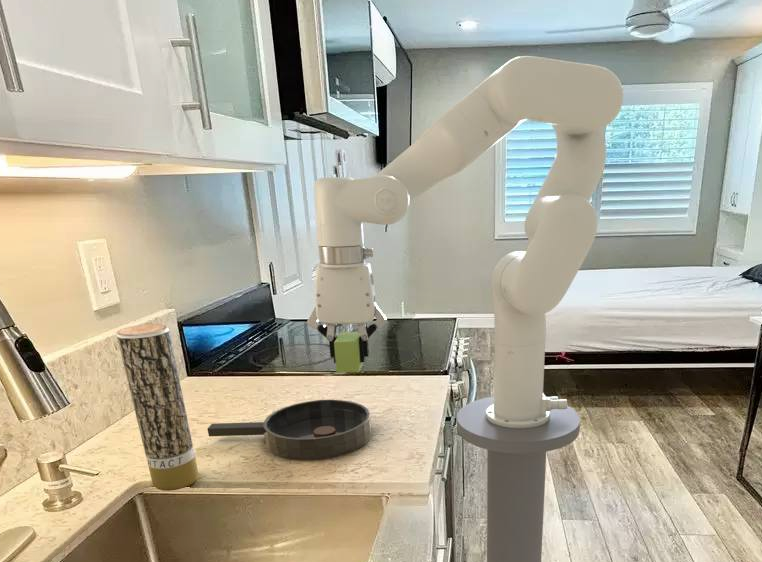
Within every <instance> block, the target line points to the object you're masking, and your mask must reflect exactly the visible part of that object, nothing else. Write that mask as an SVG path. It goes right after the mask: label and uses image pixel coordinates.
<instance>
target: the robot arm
mask: <svg viewBox="0 0 762 562" xmlns="http://www.w3.org/2000/svg"><path fill="white" fill-rule="evenodd" d="M623 103H624V90H623V85H622V82H621V81H620V79H619V77H618V76H617V75H616V73H614V72H613V71H612V70H611V69H608V68H606V67H603V66H600V65H596V64H589V63H581V62H574V61H568V60H561V59H555V58H554V59H553V58H549V57H548V58H547V57H541V56H533V55H532V56H531V55H522V56H516V57H514V58H512V59H510V60H508V61H507V62H506V63H504V64H503V65H502V66H501V67H499V68H498V69H497V70H495V71H494V72H492V74H490V75H489V76H488V77H487V78H486V79H484V80H483V81H482V82H481V83H480V84H479V85H477V86H476V87H475V88H474V89H473V90H471V91H470V92H469V93H468V94H466V95H465V96H464V97H463V98H462V99H461V100H459V101H458V102H457V103H456V104H454V105H453V106H452V107H451V108H450V109H448V110H447V111H446V112H445V113H444V114H442V116H440V117H438V118H437V119H436V120H435V121H434V122H433V123H432V124H431V125H430V126H429V127H427V128H426V130H425V131H424V132H422V134H421V135H420V136H419V137H418V138H417V139H416V140H415V141H414V142H413V143H412V144H411V145H409V147H408V148H406V149H405V150H404V151H403V152H402V153H400V154H399V155H398V156H397V157H396V158H394V159H393V160H392V161H391V162H390V163H388V164H387V165H386V166H385V167H384V168H383V169H381V170H380V171H379V172H377V174H375V175H374V176H370V177H365V178H364V177H363V178H353V177H347V176H346V177H344V176H341V177H340V176H339V177H337V176H335V177H334V176H333V177H332V176H331V177H320V178H318V179H316V180H315V181H314V183H313V187H312V188H313V200H314V201H313V203H314V210H315V211H314V212H315V223H316V233H317V245H318V256H319V263H318V264H316V268H315V278H314V279H315V280H314V281H315V282H314V298H315V299H314V301H315V302H314V303H315V307H314V308H313V310H312V312H311V314H310V315H309V317H308V319H307V321H306V323H307V325H308V326H310V327H311V328H313V329H315V330H317V331H318V332H319V333H320V334H321V335H322V336H323V337H325V338H326V341H328V344H329V357H330V358H333V363H334V364H336V359H335V348H334V342H335V340H336V338H337V337H338V334H337V328H338V327H337V326H338V325H355V324H356V325H357V328H358V330H359V331H358V332H360V335H361V336H360V341H359V350H360V362H361V363H363V364H364V363H365V362H366V359H367V357H369V356H370V348H369V338H370V337H371V336H372V335H373V334H374V333H375V332H376V331H377V330H379V329H380V328H381V327H384V325H385V324H387V322H388V319H387V317H386V315H385V314H384V313H383V312H382V310H381V309H380V308H379V306H378V305H377V299H376V289H375V282H374V276H373V271H372V267H371V263H369V262H366V260H367V259H369V258H374V251H373V250H374V249H373V248H369V247H367V246H366V245H365V244H364V243H365V240H364V226H363V225H364V224H365V223H366V224H373V225H374V224H375V225H382V226H388V225H389V226H390V225H393V224H396V223H399V222H400V221H401V220H403V218H404V217H405V216H406V215H407V213H408V211H409V207H410V206H411V205H412V204H413V203H414V202H415V201H416V200H417V199H419V198H420V197H421V196H423V194H425V193H426V192H428V191H430V189H432V188H434V186H436V185H437V184H439V183H441V182H442V181H445V180H446V179H448V178H451V177H453V176H454V175H457V174H459V173H460V172H461V171H463V170H465V169H466V168H468V167H470V166H471V165H472V164H473V163H474V162H475V161H476V160H478V159H479V158H480V157H481V156H482V155H484V154H485V153H486V152H487V151H488V150H489V149H491V148H492V147H493V146H494V145H496V144H497V143H498V142H499V141H501V140H502V139H503V138H504V137H506V136H507V135H508V134H509V133H511V132H512V131H514V130H515V128H517V127H518V126H519V125H521V124H522V123H523V122H525V121H531V122H537V123H543V124H548V125H551V126H552V129H553V131H554V134H555V138H556V153H555V156H554V160H553V162H552V164H551V167H550V169H549V170H548V173H547V175H546V177H545V178H544V180H543V183H542V184H541V187H540V189H539V190H538V193H537V194H536V197H535V199H534V200H533V202H532V204H531V206H530V208H529V210H528V212H527V213H526V216H525V220H524V233H525V235H526V238H527V240H528V241H529V244H528V247H527V248H526V250H525V251H523V250H518V251H517V250H516V251H512V252H510V253H507V254H506V255H504V256H503V257H502V258H501V259H500V260H499V261H498V262H497V264H496V266H494V267H495V268H494V270H493V273H492V278H491V291H492V292H491V293H492V302H493V316H494V338H493V339H494V341H493V343H494V346H493V348H494V349H493V362H494V363H493V397H494V404H493V405H491V406H489V407H488V408H487V410H486V418H487V419H488V420H489V421H490V422H491V423H493V424H495V425H498V426H502V427H507V428H516V429H524V428H533V427H537V426H540V425H543V424H545V423H546V422H548V421H549V419H550V411H551V409H567V406H568V400H567V399H566V398H565V399H559V396H546V394H545V393H544V381H545V380H544V379H545V378H544V377H545V356H546V338H547V337H546V336H547V318H546V317H547V316H546V314H547V313H549V312H551V311H553V310H554V309H555V308H556V307H557V306H558V305H559V304H560V303H561V301H562V300H563V298H564V297H565V295H566V293H567V292H568V290H569V289H570V287H571V285H572V283H573V281H574V279H575V278H576V276H577V274H578V272H579V270H580V269H581V267H582V265H583V263H584V261H585V259H586V257H587V255H588V254H589V252H590V250H591V248H592V247H593V244H594V241H595V239H596V235H597V230H598V216H597V213H596V210H595V208H594V206H593V204H592V203H591V202H590V201H591V199H592V197H593V196H594V195H593V194H594V192H595V191H596V189H597V186H598V184H599V182H600V180H601V177H602V175H603V172H604V169H605V166H606V161H607V160H606V158H607V145H606V137H605V131H604V128H606V127H607V126H608V125H611V124H612V122H613V121H614V120H615V119H616V118H617V116H618V115H619V113H620V111H621V109H622V106H623ZM375 318H376V320H375ZM374 320H375V321H374ZM373 321H374V322H373ZM371 322H372V323H371ZM370 323H371V324H370ZM368 324H369V325H368Z"/></svg>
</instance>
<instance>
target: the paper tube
mask: <svg viewBox="0 0 762 562" xmlns="http://www.w3.org/2000/svg"><path fill="white" fill-rule="evenodd" d="M116 338H117V344H118V347H119V352H120V355H121V360H122V363H123V367H124V368H123V369H124V372H125V375H126V376H125V377H126V380H127V385H128V388H129V393H130V396H131V400H132V401H131V402H132V404H133V405H132V406H133V409H134V413H135V417H136V421H137V425H138V430H139V434H140V437H141V442H142V446H143V450H144V453H145V454H144V455H145V458H146V462H147V466H148V470H149V474H150V479H151V482H152V486H153V487H154V488H155V489H157V490H160V491H165V492H170V491H172V492H173V491H178V490H181V489H184V488H187V487H189V486H191V485H192V484H194V483H195V482H196V481H197V480H198V478H199V469H198V465H197V460H196V455H195V449H194V445H193V438H192V435H191V430H190V424H189V419H188V415H187V409H186V406H185V400H184V395H183V390H182V386H181V381H180V376H179V372H178V367H177V362H176V361H177V360H176V357H175V352H174V347H173V342H172V338H171V333H170V329H169V326H168V325H167V324H162V323H148V324H138V325H131V326H128V327H123V328H119V329H118V330H117V331H116Z"/></svg>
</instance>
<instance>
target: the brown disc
mask: <svg viewBox="0 0 762 562" xmlns="http://www.w3.org/2000/svg"><path fill="white" fill-rule="evenodd" d="M313 432H314V437H315V438H317V437H325V436H331V435H335V434H336V431H335V428H334V427H332V426H322V427H318V428H316V429H314V431H313Z"/></svg>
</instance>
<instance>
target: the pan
mask: <svg viewBox="0 0 762 562" xmlns="http://www.w3.org/2000/svg"><path fill="white" fill-rule="evenodd" d="M371 417H372V416H371V412H370V410H369V408H368V407H366V406H365V405H363V404H361V403H358V402H356V401H351V400H350V401H349V400H344V399H317V400H307V401H303V402H298V403H294V404H291V405H288V406H285V407H284V406H283V407H282V408H280V409H277V410H275V411H274V412H272V413H271V414H269V415H268V416H267V417H266V418H265V419H264V421H263V422H264V426H263V428H264V434H265V435H264V440H265V445H266V448H267V450H268V451H269V453H271V454H273V455H274V456H277V457H279V458H282V459H286V460H293V461H320V460H328V459H333V458H337V457H341V456H344V455H347V454H351V453H353V452H355V451H357V450H359V449H361V448H362V447H364V446H365V445H366V444H367V443H368V442H369V441H370V440H371V438H372V430H373V429H372V418H371ZM322 426H332V427H334V428H335V431H336V434H335V435H331V436H325V437H317V438H315V437H314V432H313V431H314V429H316V428H318V427H322Z"/></svg>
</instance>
